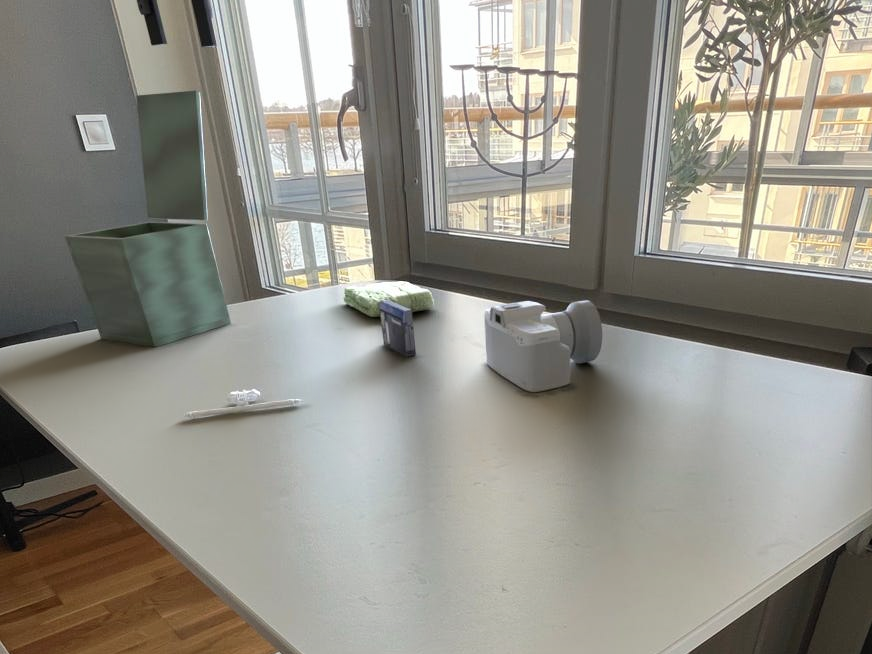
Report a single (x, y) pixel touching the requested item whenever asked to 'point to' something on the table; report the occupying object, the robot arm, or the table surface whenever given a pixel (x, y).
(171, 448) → the table surface
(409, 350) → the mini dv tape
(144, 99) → the lid
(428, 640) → the table surface
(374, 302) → the washcloth
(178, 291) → the green open box
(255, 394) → the picture light
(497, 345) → the digital camera
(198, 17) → the robot arm
